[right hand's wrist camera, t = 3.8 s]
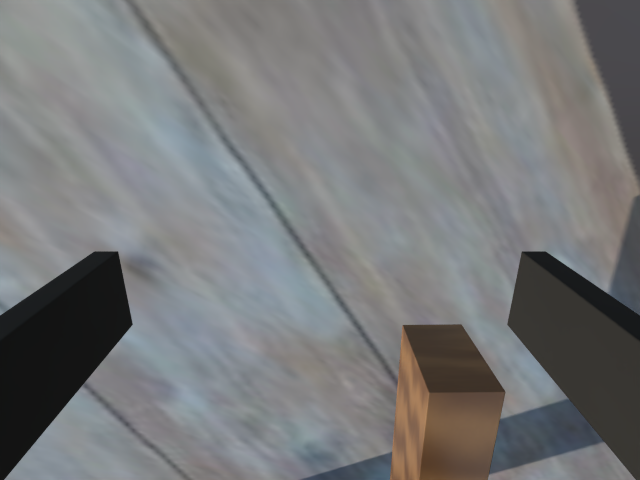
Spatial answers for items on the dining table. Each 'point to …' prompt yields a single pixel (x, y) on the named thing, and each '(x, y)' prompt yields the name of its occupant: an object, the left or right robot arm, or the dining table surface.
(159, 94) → the dining table surface
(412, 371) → the bar
